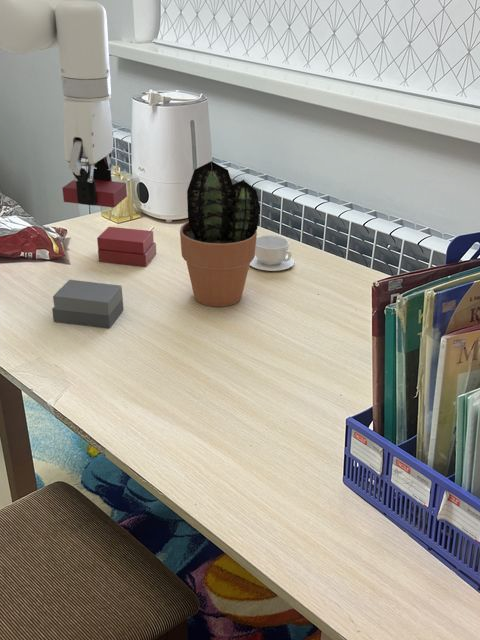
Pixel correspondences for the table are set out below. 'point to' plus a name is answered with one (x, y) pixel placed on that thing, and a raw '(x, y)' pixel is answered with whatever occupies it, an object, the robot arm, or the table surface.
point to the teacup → (272, 253)
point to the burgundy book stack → (126, 246)
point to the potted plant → (219, 235)
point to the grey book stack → (88, 303)
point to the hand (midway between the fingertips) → (95, 197)
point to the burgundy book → (99, 192)
